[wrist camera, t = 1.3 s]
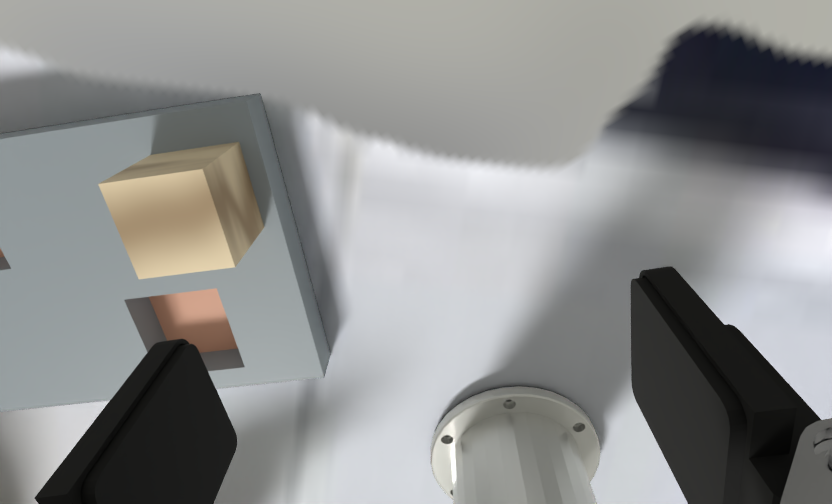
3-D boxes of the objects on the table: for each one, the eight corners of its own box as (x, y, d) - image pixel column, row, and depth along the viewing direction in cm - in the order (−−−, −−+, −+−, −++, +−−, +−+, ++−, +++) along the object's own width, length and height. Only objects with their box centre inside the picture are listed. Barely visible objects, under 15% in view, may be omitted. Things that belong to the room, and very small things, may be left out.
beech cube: (264, 227, 30) (235, 267, 26) (181, 238, 31) (138, 279, 26) (239, 141, 28) (202, 169, 24) (150, 154, 29) (98, 183, 24)
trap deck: (330, 354, 37) (318, 398, 33) (-46, 395, 40) (-101, 441, 36) (260, 93, 29) (233, 108, 25) (-201, 165, 32) (-292, 188, 28)
